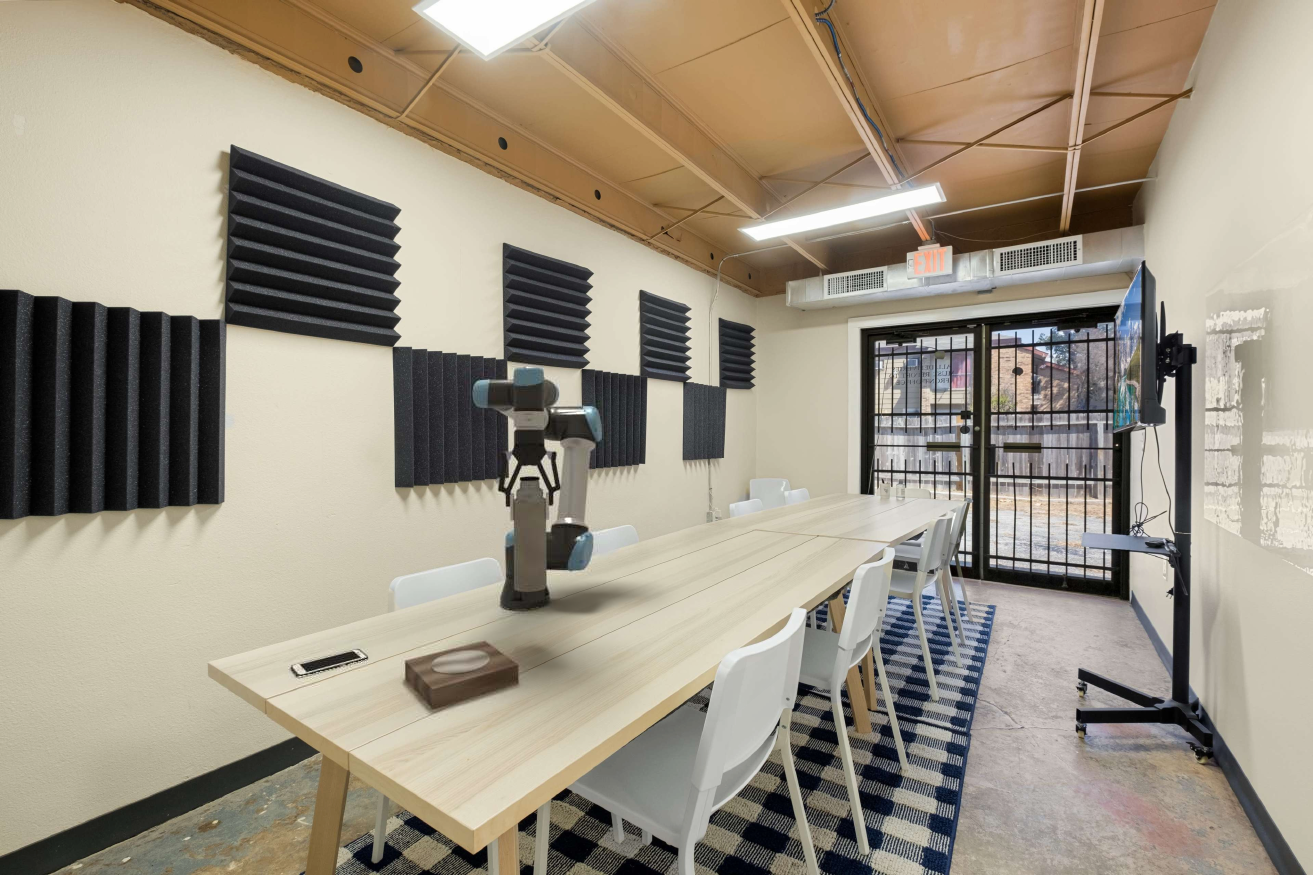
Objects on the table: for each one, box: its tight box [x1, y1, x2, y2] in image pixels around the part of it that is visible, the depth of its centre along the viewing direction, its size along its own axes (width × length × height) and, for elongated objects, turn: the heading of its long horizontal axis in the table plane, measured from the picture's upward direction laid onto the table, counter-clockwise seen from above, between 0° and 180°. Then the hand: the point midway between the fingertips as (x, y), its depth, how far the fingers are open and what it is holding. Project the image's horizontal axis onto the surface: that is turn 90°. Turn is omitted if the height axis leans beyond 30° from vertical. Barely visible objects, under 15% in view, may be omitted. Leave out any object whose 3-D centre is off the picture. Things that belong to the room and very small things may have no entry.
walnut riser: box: [404, 640, 519, 710], centre depth 125 cm, size 18×18×4 cm
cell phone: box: [290, 648, 369, 677], centre depth 135 cm, size 8×15×1 cm, turn 134°
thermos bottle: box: [513, 475, 548, 592], centre depth 146 cm, size 8×8×28 cm
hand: (529, 519), depth 146 cm, fingers closed on thermos bottle, 8 cm apart
